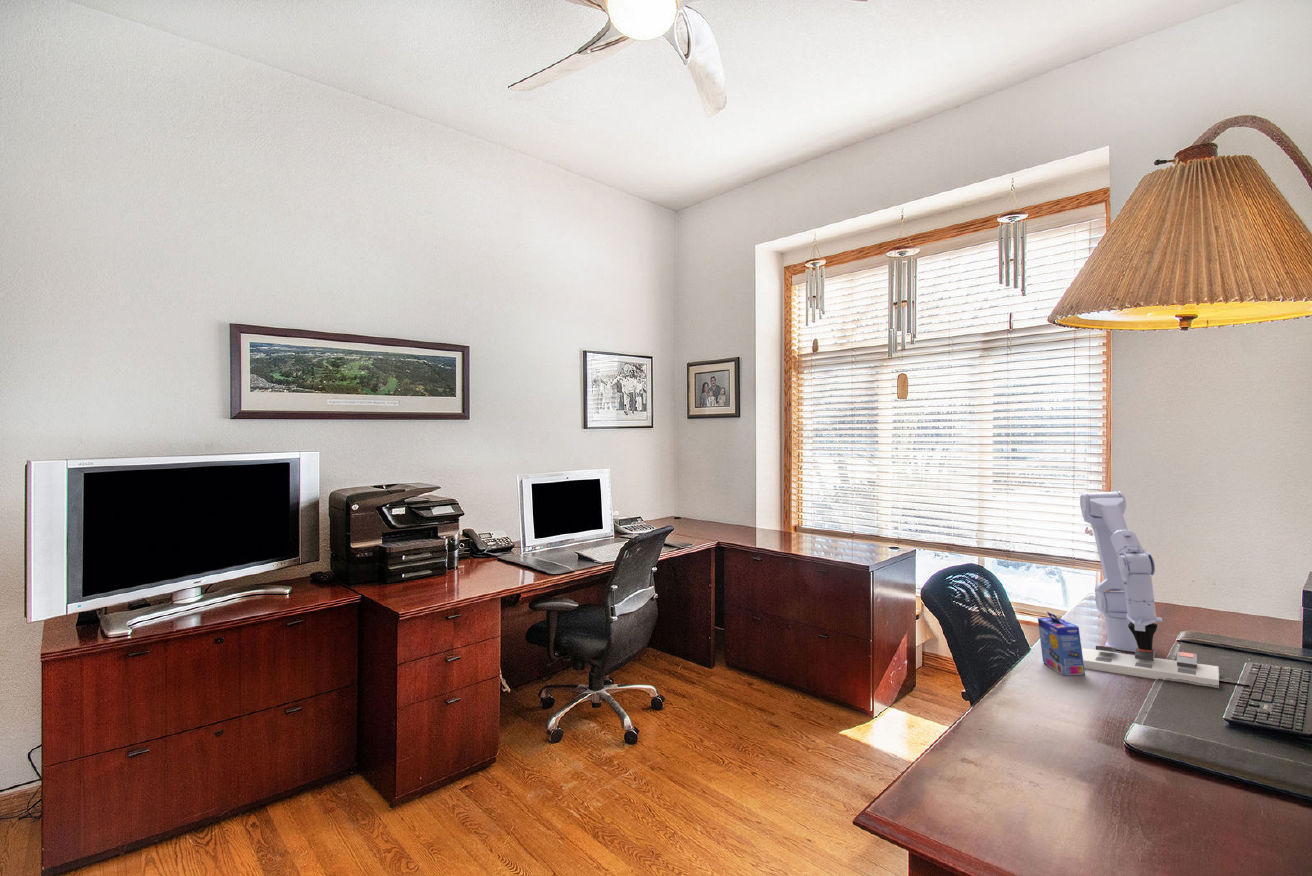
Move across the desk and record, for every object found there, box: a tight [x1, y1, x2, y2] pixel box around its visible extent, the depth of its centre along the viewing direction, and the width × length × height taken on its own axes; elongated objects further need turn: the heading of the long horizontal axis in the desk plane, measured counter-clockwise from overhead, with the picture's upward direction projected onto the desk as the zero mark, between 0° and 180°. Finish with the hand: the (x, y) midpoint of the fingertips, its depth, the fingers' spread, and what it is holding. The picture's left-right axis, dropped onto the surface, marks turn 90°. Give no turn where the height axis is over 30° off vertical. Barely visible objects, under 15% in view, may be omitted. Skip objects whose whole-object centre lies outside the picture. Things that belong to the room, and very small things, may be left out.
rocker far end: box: [1095, 645, 1117, 653], centre depth 154 cm, size 5×4×1 cm
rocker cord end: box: [1176, 651, 1198, 668], centre depth 143 cm, size 5×4×1 cm
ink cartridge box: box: [1037, 611, 1086, 676], centre depth 152 cm, size 10×6×14 cm, turn 174°
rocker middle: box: [1134, 647, 1156, 661], centre depth 149 cm, size 5×4×1 cm
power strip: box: [1082, 647, 1232, 685], centre depth 145 cm, size 11×32×2 cm, turn 46°
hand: (1145, 652), depth 150 cm, fingers closed, pressing on rocker middle
